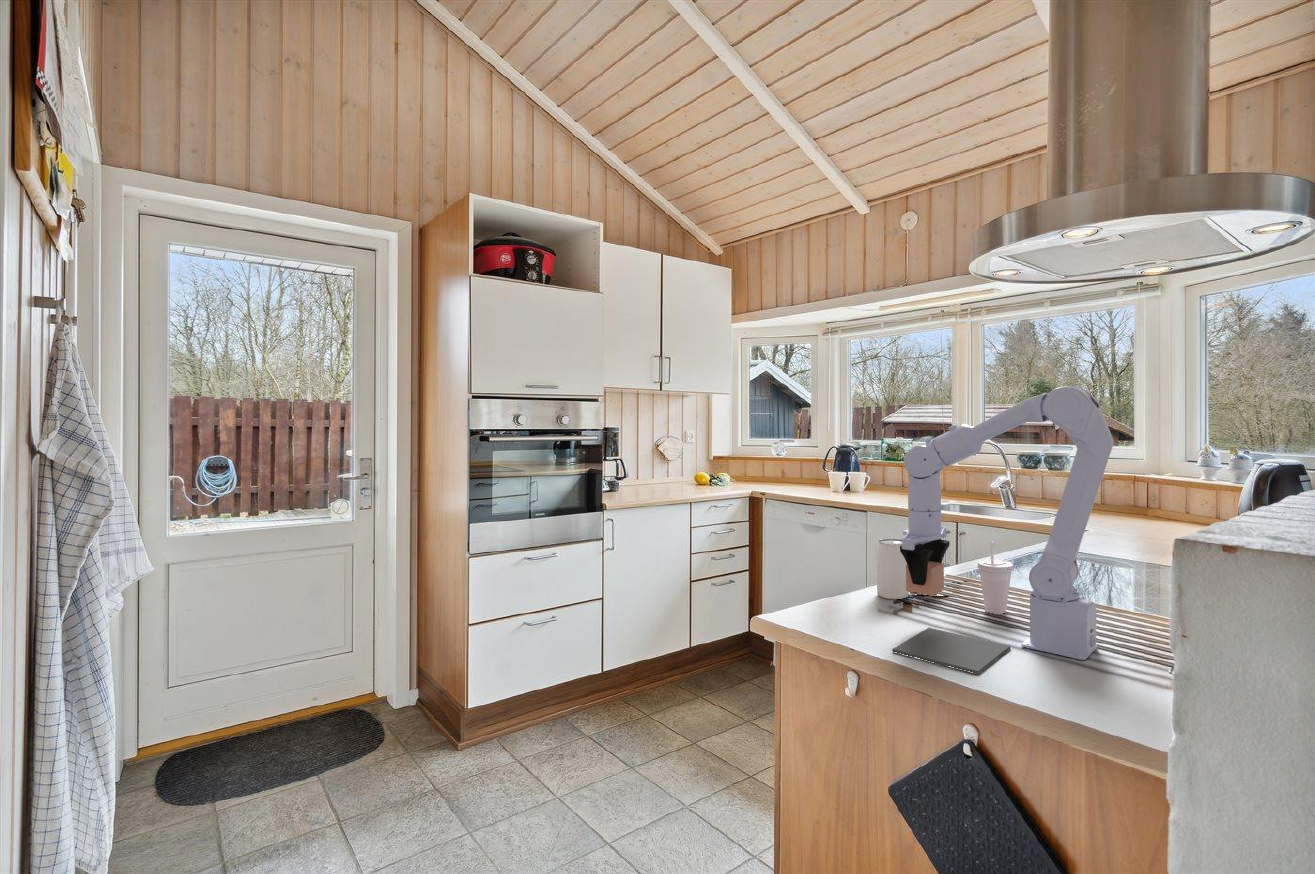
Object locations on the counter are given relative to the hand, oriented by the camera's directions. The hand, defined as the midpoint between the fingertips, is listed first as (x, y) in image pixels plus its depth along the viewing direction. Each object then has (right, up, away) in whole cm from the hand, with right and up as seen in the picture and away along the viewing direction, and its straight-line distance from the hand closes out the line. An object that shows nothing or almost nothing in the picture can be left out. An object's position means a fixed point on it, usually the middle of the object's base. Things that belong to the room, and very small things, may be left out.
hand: (925, 581), depth 127 cm
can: (+1, -8, +19) cm, 21 cm away
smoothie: (+17, -8, +7) cm, 20 cm away
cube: (0, -2, 0) cm, 2 cm away
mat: (-1, -9, -13) cm, 16 cm away
